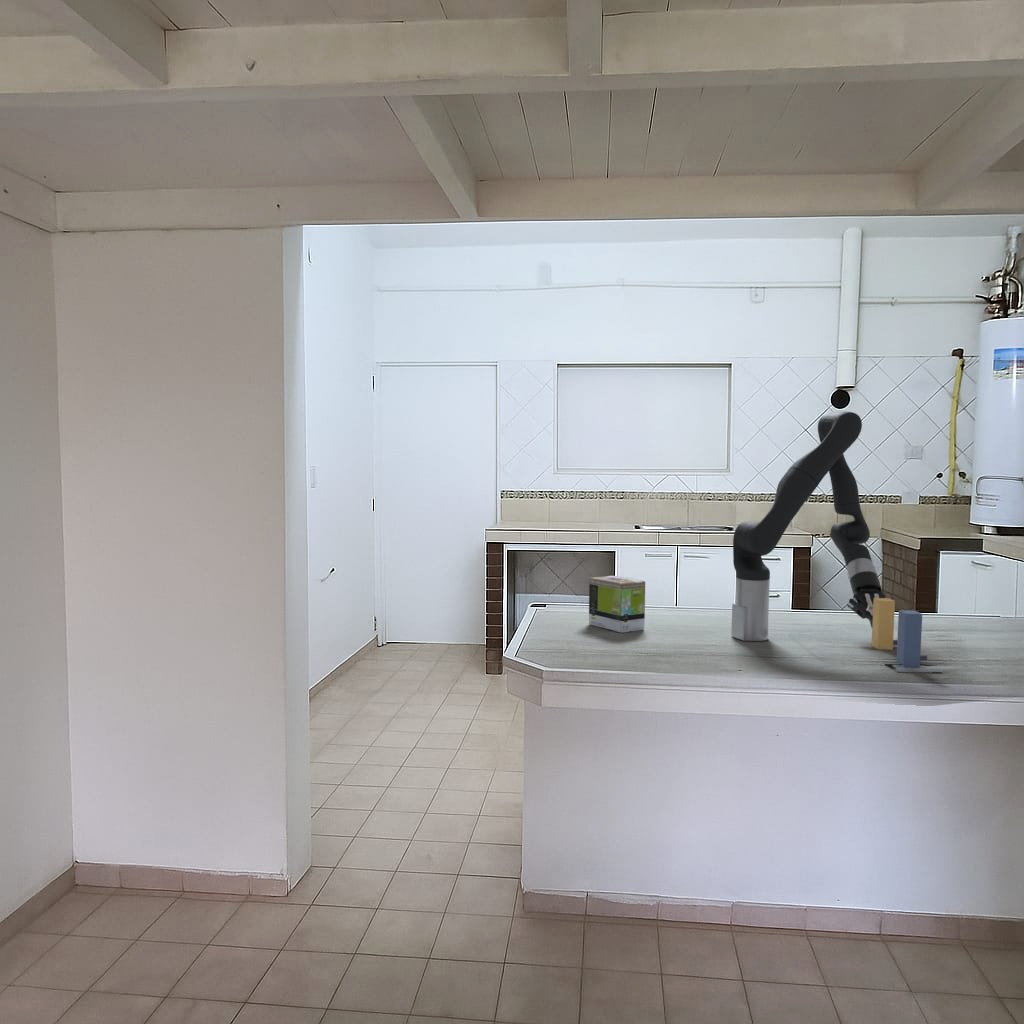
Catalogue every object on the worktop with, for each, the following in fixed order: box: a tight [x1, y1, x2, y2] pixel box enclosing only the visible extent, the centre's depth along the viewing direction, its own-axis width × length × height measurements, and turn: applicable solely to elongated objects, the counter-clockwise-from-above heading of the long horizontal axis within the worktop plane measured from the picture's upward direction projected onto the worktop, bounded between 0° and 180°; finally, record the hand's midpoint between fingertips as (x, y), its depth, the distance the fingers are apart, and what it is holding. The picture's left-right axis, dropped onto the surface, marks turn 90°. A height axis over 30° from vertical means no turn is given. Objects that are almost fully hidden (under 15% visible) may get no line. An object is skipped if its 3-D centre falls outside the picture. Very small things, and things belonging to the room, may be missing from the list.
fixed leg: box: [896, 610, 928, 666], centre depth 207 cm, size 4×6×13 cm, turn 88°
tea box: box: [588, 575, 646, 633], centre depth 252 cm, size 15×10×15 cm
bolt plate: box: [884, 663, 943, 673], centre depth 217 cm, size 26×11×1 cm, turn 178°
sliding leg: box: [871, 597, 898, 651], centre depth 223 cm, size 4×6×13 cm, turn 88°
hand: (878, 630), depth 226 cm, fingers closed
